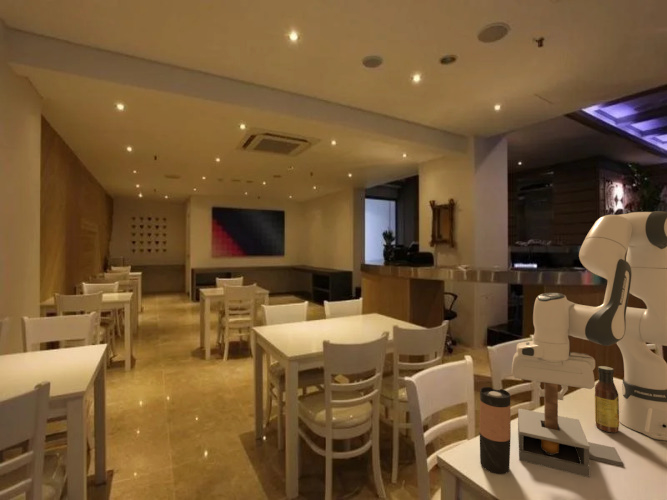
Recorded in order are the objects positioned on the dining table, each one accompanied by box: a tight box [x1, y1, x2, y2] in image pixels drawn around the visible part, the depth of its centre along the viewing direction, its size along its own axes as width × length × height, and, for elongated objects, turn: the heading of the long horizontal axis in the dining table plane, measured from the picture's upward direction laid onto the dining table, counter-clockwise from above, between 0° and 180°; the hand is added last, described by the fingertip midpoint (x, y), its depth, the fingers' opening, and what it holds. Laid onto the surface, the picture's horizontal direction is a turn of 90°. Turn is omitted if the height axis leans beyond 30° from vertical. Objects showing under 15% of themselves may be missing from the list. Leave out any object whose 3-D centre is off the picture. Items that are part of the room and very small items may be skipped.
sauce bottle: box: [594, 365, 620, 433], centre depth 115 cm, size 7×6×20 cm
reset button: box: [540, 439, 560, 454], centre depth 101 cm, size 4×4×2 cm
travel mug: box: [478, 386, 512, 475], centre depth 95 cm, size 8×8×20 cm
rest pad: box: [588, 441, 623, 467], centre depth 100 cm, size 8×8×1 cm
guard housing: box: [517, 408, 591, 478], centre depth 101 cm, size 16×16×8 cm
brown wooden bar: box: [543, 382, 559, 430], centre depth 101 cm, size 3×3×16 cm
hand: (550, 397), depth 101 cm, fingers closed on brown wooden bar, 3 cm apart
